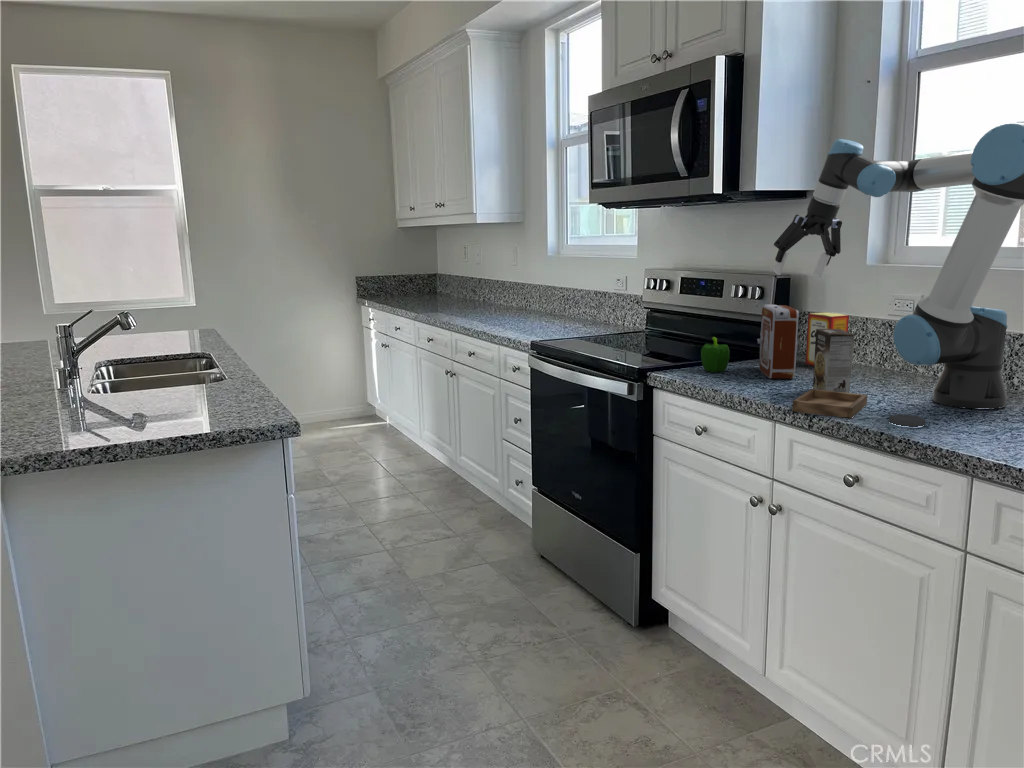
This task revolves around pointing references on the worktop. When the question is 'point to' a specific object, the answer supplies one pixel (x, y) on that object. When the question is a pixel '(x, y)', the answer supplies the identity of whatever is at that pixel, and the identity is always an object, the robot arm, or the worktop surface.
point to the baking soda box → (822, 322)
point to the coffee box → (833, 360)
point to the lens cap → (907, 420)
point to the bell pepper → (715, 356)
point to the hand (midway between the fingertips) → (796, 274)
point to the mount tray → (829, 403)
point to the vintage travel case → (778, 341)
